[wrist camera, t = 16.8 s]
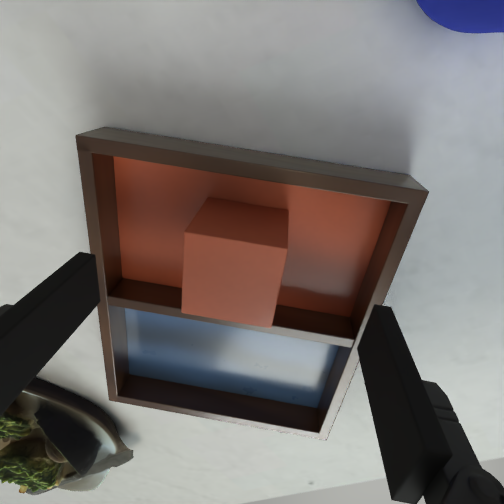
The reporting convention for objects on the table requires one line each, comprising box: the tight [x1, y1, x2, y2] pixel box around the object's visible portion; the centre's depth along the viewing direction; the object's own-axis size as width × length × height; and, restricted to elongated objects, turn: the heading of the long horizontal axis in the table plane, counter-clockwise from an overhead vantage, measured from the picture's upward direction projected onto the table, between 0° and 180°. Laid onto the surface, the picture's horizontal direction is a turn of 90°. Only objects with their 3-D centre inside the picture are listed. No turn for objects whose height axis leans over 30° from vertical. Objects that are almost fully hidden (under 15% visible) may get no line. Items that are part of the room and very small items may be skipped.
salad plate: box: [0, 378, 133, 495], centre depth 34 cm, size 19×18×5 cm
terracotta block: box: [181, 197, 289, 328], centre depth 19 cm, size 5×5×5 cm
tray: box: [76, 127, 429, 440], centre depth 23 cm, size 21×18×3 cm
